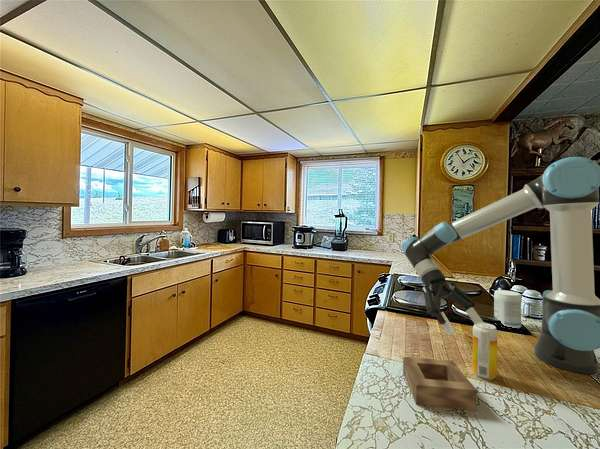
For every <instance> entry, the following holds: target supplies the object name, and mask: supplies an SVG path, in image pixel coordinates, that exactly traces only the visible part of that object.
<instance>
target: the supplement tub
mask: <svg viewBox="0 0 600 449" xmlns="http://www.w3.org/2000/svg"><path fill="white" fill-rule="evenodd" d="M521 295H522V294H521V293H519V292H517V291H513V290H512V291H511V290H504V289H496V290H494V293H493V300H494V301H493V311H494V312H493V317H495V318H497V319H498V320H500V321H501V323H502V324H503V325H504V326H507V327H512V328H517V329H520V328H521V327H522V297H521Z"/></svg>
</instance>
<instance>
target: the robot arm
mask: <svg viewBox="0 0 600 449" xmlns="http://www.w3.org/2000/svg"><path fill="white" fill-rule="evenodd" d="M599 191H600V165H599V164H598V162H596V161H594V160H592V159H591V158H587V157H583V156H569V157H565V158H561V159H559V160H556V161H554V162H553V163H551V164H550V165H548V166H547V168H546V169H545V170H544V172H543V174H541V175H540V176H538V177H537V178H536V179H534V180H532V181H530V182H528V183H525V184H524V186H523V188H522V189H520V190H518V191H516V192H513V193H511V194H509V195H508V196H506V197H503V198H500V199H499V200H496V201H494V202H492V203H490V204H488V205H486V206H483V207H482V208H480V209H478V210H475V211H473V212H471V213H469V214H467V215H465V216H462V217H461V218H460V217H459V218H458V219H456V220H453V221H452V222H450V223H449V222H446V221H441V222H440V223H438V224H437V225H435V226H434V227H432V228H431V229H430V230H429V231H428V232H426V233H425V234H423V235H422V236H421V237H419V238H418V237H417V236H412V237H411V236H410V237H409V238H406V239H404V240H403V242H402V243H401V250H402V251H403V254H404V256H405V257H406V258H407V260H408V262H409V263H410V264H411V267H413V269H414V270H415V272H416V273H417V275H418V276H419V278H420V280H421V283H423V285H424V286H423V287H422V288H421V291H422V293H423V295H424V296H423V297H424V300H425V301H424V302H425V309H426V313H427V314H428V315H431V317H434V318H436V319H437V321H438V324H439V325H441V326H442V328H443V330H444V331H445V333H446V334H447V336H451V335H453V334H454V333H456V330H455V328H454V327H453V325H452V323H451V322H450V321H449V319H448V317H447V316H446V314H445V313H444V311H441V306H442V302H441V300H442V299H449V300H451V301H453V302H455V303H456V304H457V305H459V306H461V307H462V308H463V309H466V310H465V312H466V314H467V315H468V317H469V318H470V320H471V321H472V322H473V324H475V323H476V322H483V323H485V322H484V321H483V319H482V318H481V317H480V315H479V313H478V311H477V310H476V309H475V307H476V305H477V303H476V301H474V300H473V299H472V298H471V297H469V295H467V294H466V293H465V292H464V291H463V290H462V289H460V288H459V287H457V285H456V283H454V282H451V283H449V284H448V283H447V282H446V276H445V275H444V273H443V272H442V270H441V269H440V268H439V266H438V265H437V263H436V261H435V260H434V259H433V257H432V255H434V254H435V253H436V252H438V251H440V250H441V249H443V248H444V247H446V246H450V245H452V244H453V243H455V242H459V241H460V240H463V239H465V238H467V237H469V236H473V235H475V234H477V233H479V232H482V231H484V230H486V229H489V228H491V227H493V226H496V225H498V224H500V223H502V222H505V221H508V220H510V219H512V218H515V217H517V216H519V215H521V214H524V213H527V212H529V211H531V210H533V209H536V208H538V209H545V210H547V211H548V212H549V220H550V221H549V224H550V225H549V227H550V253H551V254H550V255H551V275H552V276H551V277H552V290H548V289H547V290H544V291H543V292H542V296H541V300H542V304H541V305H542V308H541V309H542V312H541V313H542V315H541V316H542V317H541V333H540V335H539V338H538V340H537V342H536V344H535V345H534V356H535V357H536V358H537V359H538V360H540V361H543V362H544V363H547V364H549V365H551V366H553V367H556V368H559V369H562V370H565V371H569V372H573V373H578V374H579V373H580V374H588V375H589V374H590V375H591V374H596V373H598V372H599V369H600V368H599V361H598V358H597V355H596V353H595V351H596V350H599V349H600V298H599V297H598V296H596V293H595V272H594V270H595V269H594V268H595V267H594V266H595V265H594V246H593V244H594V242H593V241H594V239H593V218H592V217H593V216H592V210H593V209H594V208H595V207H597V206H598V205H599V204H600V192H599Z"/></svg>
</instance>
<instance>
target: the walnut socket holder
mask: <svg viewBox="0 0 600 449" xmlns="http://www.w3.org/2000/svg"><path fill="white" fill-rule="evenodd" d="M402 358H403V362H402V364H403V365H402V367H403V368H402V373H403V376H404V379H405V381H406V383H407V386H408V388H409V390H410V394H411V396H412V398H413V400H414V403H415V405H419V406H425V407H426V406H429V407H438V408H448V409H456V410H467V411H474V412H475V411H476V412H477V411H478V410H477V408H478V407H477V402H478V401H477V398H478V391H477V390H478V389H477V388H476V387H475V386H474V385H473V383H471V381H470V380H469V378H468V377H467V376H466V375H465V374H464V372H463V371H462V370H461V369H460V368H459V367H458V365H457V364H456V362H454V360H449V359H438V358H437V359H436V358H435V359H434V358H422V357H413V356H412V357H410V356H403V357H402Z"/></svg>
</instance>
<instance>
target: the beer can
mask: <svg viewBox="0 0 600 449" xmlns="http://www.w3.org/2000/svg"><path fill="white" fill-rule="evenodd" d="M483 322H484V321H483ZM483 322H476V323H475V324H474V323H473V324H474V325H473V326H472V352H471V353H472V357H471V370H472V372H473V373H474V375H476V376H477V377H479V378H480V379H482V380H483V379H484V380H487V381H488V380H489V381H491V380H494V379H495V378H497V372H498V370H497V368H498V362H497V361H498V330H497V327H496V326H495V325H494V324H491V323H488V322H484V323H483Z"/></svg>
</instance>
